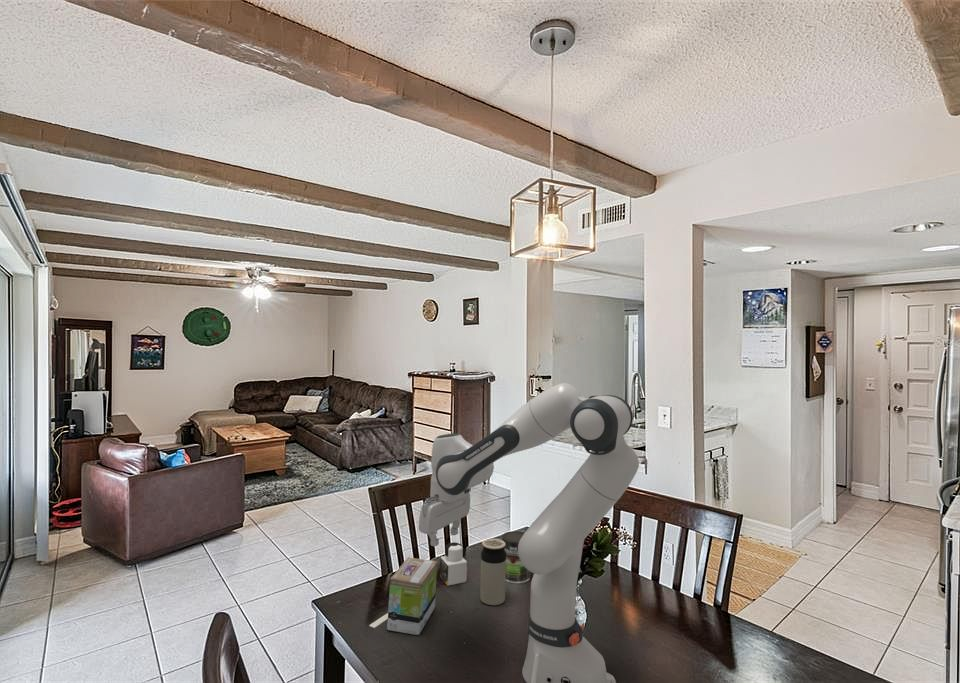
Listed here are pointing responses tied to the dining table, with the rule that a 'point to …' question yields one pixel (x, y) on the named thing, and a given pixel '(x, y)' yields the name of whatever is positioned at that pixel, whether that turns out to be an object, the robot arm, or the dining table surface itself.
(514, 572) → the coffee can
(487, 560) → the travel mug
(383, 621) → the strip
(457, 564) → the medicine bottle
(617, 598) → the dining table surface
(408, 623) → the tea box
